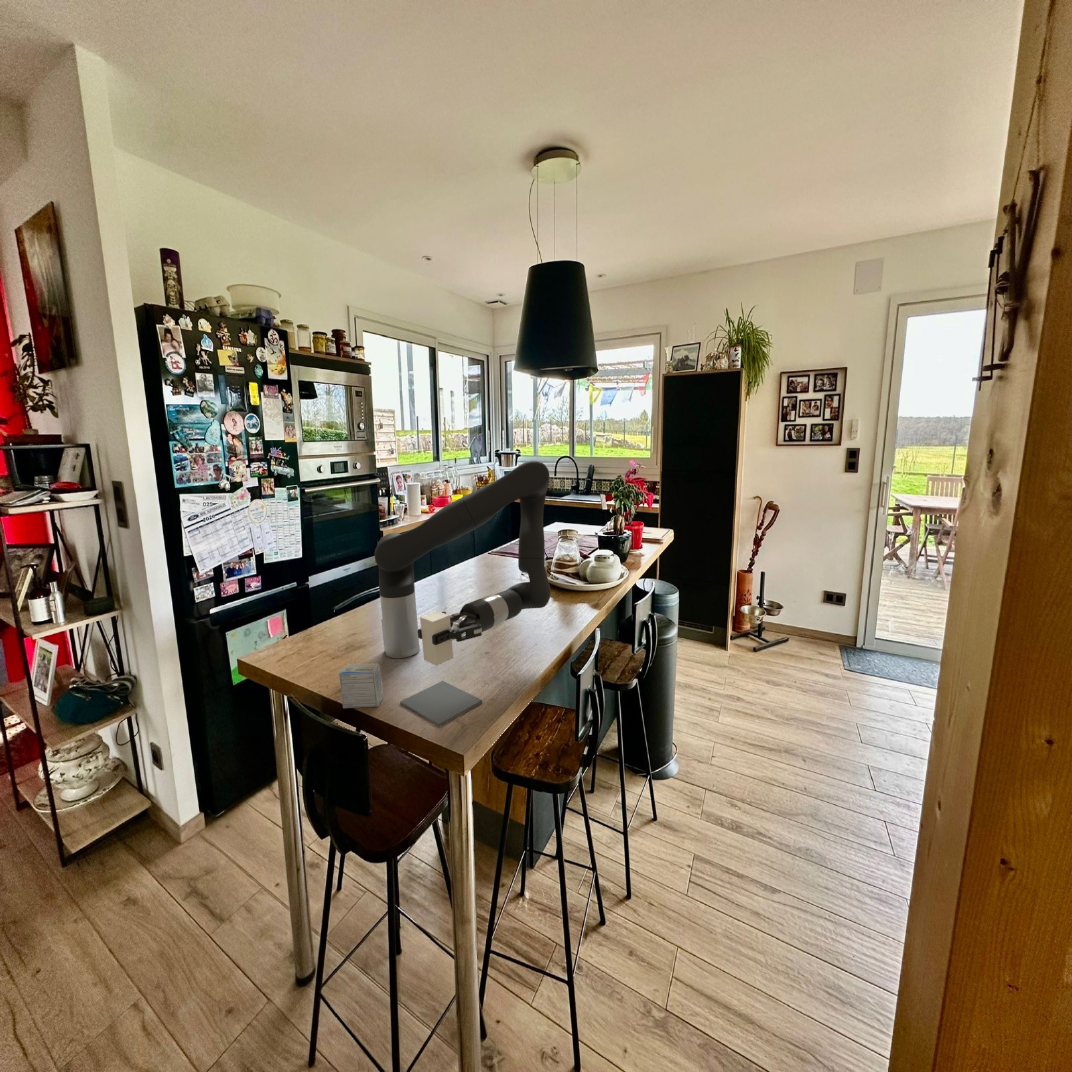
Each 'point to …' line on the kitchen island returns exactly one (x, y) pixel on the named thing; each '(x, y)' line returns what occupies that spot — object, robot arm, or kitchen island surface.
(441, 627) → the cream block
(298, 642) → the kitchen island surface
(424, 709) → the slate mat
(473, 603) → the robot arm
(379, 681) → the medicine box
